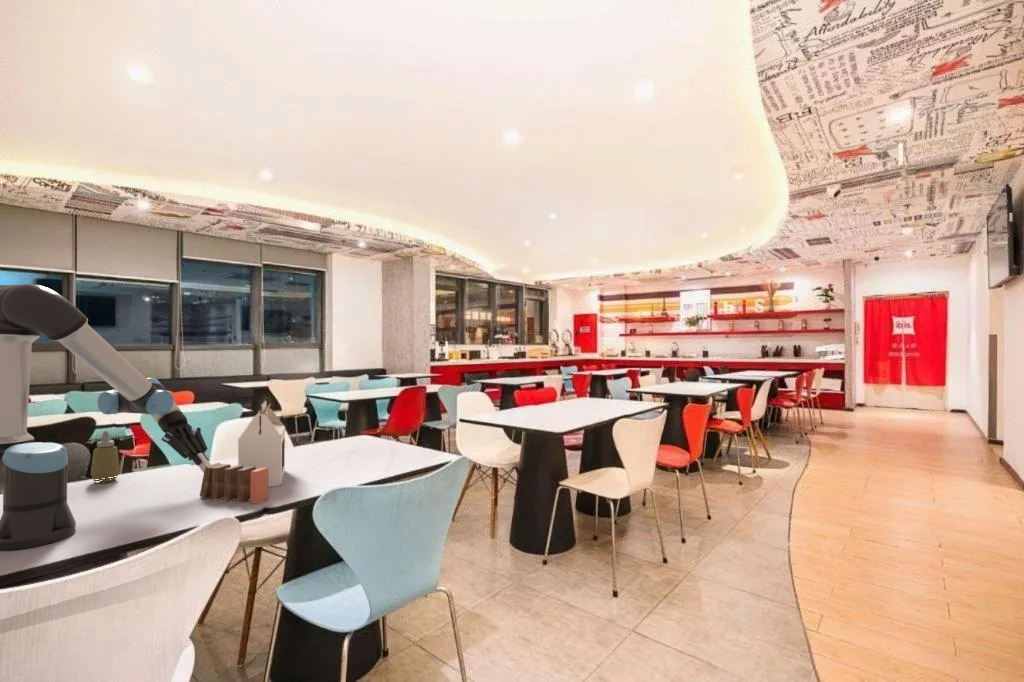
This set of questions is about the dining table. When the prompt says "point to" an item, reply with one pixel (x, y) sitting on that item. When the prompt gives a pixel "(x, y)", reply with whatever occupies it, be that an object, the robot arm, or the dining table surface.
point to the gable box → (264, 444)
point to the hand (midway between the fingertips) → (208, 470)
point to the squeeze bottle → (105, 460)
